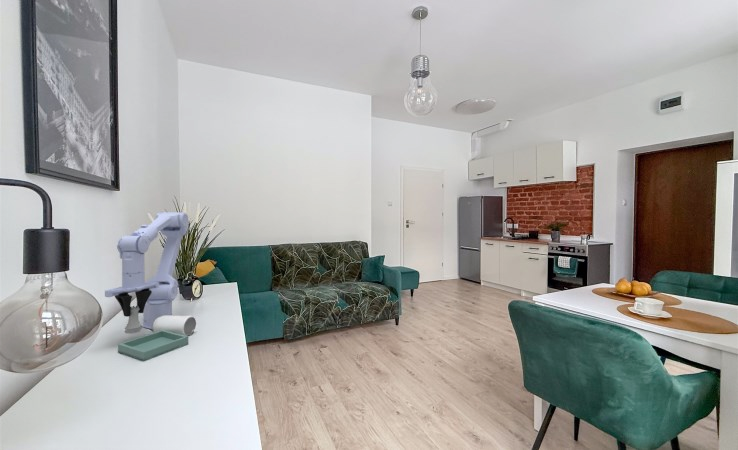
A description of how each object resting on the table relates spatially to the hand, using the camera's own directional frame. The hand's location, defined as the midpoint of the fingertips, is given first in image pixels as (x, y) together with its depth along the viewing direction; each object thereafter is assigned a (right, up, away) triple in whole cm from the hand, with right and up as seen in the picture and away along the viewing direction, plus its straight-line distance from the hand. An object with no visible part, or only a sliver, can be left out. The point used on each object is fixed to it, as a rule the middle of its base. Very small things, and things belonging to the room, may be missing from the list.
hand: (133, 314), depth 98 cm
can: (+15, -6, +6) cm, 17 cm away
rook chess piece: (0, -6, 0) cm, 6 cm away
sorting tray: (+10, -9, -5) cm, 14 cm away
